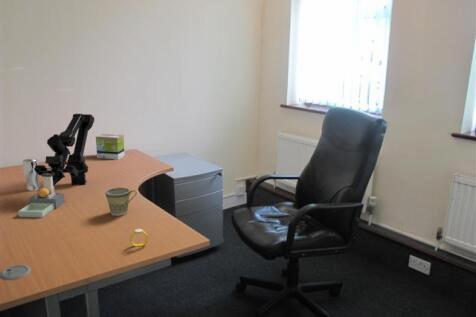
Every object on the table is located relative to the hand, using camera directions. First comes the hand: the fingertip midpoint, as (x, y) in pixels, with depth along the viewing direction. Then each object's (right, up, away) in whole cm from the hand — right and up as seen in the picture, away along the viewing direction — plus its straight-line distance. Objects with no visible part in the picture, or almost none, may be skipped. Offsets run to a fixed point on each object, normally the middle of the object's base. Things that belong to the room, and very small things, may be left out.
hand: (51, 186), depth 192 cm
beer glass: (-18, -3, +20) cm, 26 cm away
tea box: (+2, +13, +85) cm, 86 cm away
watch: (+50, -18, -42) cm, 67 cm away
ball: (0, -2, -6) cm, 7 cm away
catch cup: (-1, -10, -11) cm, 15 cm away
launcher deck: (0, -8, -4) cm, 9 cm away
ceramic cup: (+36, -11, -11) cm, 39 cm away
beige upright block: (0, -3, -2) cm, 4 cm away
